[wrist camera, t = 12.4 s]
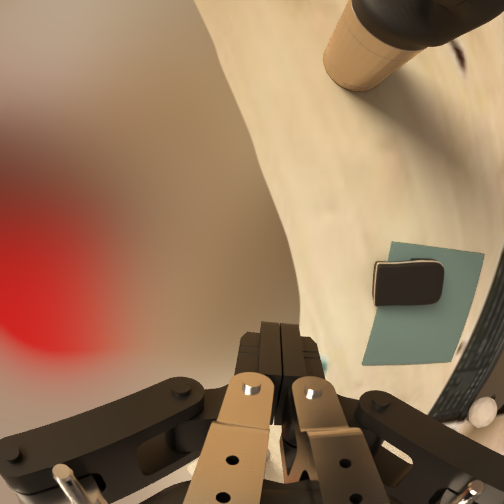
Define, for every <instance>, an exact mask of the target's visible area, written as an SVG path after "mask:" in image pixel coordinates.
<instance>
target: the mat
mask: <svg viewBox="0 0 504 504" xmlns="http://www.w3.org/2000/svg"><path fill="white" fill-rule="evenodd" d="M411 258H431V259H435V260H436V261H438V262H440V263H441V264H442V265H443V267H444V282H443V289H442V294H441V298H440V299H439V301H438V302H436V303H434V304H429V305H416V306H397V305H395V306H378V308H377V312H376V316H375V320H374V324H373V327H372V331H371V335H370V338H369V342H368V345H367V349H366V352H365V355H364V359H363V362H362V365H405V364H426V363H442V362H451V359H452V357H453V355H454V352H455V350H456V347H457V344H458V342H459V339H460V336H461V334H462V331H463V328H464V325H465V322H466V319H467V316H468V313H469V310H470V307H471V304H472V301H473V297H474V294H475V290H476V287H477V283H478V279H479V275H480V272H481V267H482V263H483V259H484V254H481V253H474V252H467V251H460V250H453V249H446V248H439V247H431V246H424V245H416V244H408V243H401V242H393V241H392V242H391V248H390V253H389V258H388V262H397V261H410V259H411Z"/></svg>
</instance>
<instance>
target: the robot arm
mask: <svg viewBox="0 0 504 504" xmlns="http://www.w3.org/2000/svg"><path fill="white" fill-rule="evenodd" d="M503 11H504V0H349V1H348V3H347V5H346V7H345V9H344V12H343V14H342V16H341V18H340V20H339V22H338V24H337V26H336V28H335V30H334V32H333V35H332V37H331V39H330V41H329V43H328V45H327V47H326V49H325V52H324V57H323V61H324V66H325V69H326V71H327V73H328V74H329V76H330V77H331V78H332V79H333V80H334V81H335V82H336V83H337V84H339V85H340V86H342V87H344V88H346V89H349V90H352V91H366V90H369V89H372V88H373V87H375V86H376V85H378V84H379V83H380V82H381V81H383V80H384V79H385V78H387V77H388V76H389V75H391V74H392V73H393V72H395V71H396V70H397V69H399V68H400V67H401V66H403V65H404V64H405V63H407V62H408V61H409V60H411V59H412V58H413V57H415V56H416V55H417V54H418V53H420V52H421V51H423V50H424V49H425V48H427V47H436V46H441V45H444V44H446V43H448V42H450V41H451V40H453V39H455V38H457V37H459V36H461V35H463V34H465V33H467V32H469V31H471V30H473V29H475V28H478V27H480V26H482V25H483V24H485V23H487V22H489V21H491V20H492V19H494V18H495V17H497V16H498V15H500V14H501V13H502V12H503ZM318 352H319V351H318V347H317V344H316V343H315V342H314V341H313V340H312V339H311V338H310V337H302V336H300V331H299V325H298V324H286V323H280V327H279V323H273V322H263V321H262V322H261V328H260V333H254V332H247V333H245V334H244V335H243V336H242V337H241V340H240V346H239V352H238V357H237V363H236V368H235V374H234V377H232V378H231V380H230V382H229V384H227V385H226V386H223V387H221V388H216V389H205V390H204V388H203V386H202V385H201V384H200V383H199V382H197V381H196V380H194V379H191V378H187V377H173V378H169V379H167V380H165V381H162V382H160V383H158V384H155V385H153V386H150V387H148V388H146V389H143V390H141V391H139V392H136V393H134V394H131V395H129V396H126V397H124V398H121V399H119V400H116V401H113V402H111V403H108V404H105V405H103V406H100V407H97V408H95V409H92V410H89V411H87V412H84V413H81V414H78V415H75V416H73V417H70V418H67V419H64V420H61V421H58V422H55V423H52V424H49V425H45V426H42V427H39V428H36V429H32V430H29V431H26V432H22V433H19V434H15V435H12V436H8V437H5V438H2V439H1V440H0V475H1V476H2V477H3V479H4V480H5V481H6V483H7V485H8V486H9V487H10V488H11V490H12V491H13V492H14V493H15V494H16V495H17V497H18V500H19V502H20V504H110V503H113V502H115V501H117V500H119V499H122V498H124V497H126V496H128V495H130V494H132V493H134V492H136V491H138V490H140V489H142V488H144V487H146V486H148V485H150V484H152V483H154V482H156V481H158V480H159V479H161V478H163V477H165V476H167V475H169V474H170V473H172V472H174V471H176V470H177V469H179V468H181V467H183V466H184V465H186V464H188V463H190V462H191V461H193V460H195V459H196V458H198V457H199V456H200V457H199V460H198V463H197V466H196V469H195V471H194V474H193V477H192V480H190V481H186V482H181V483H178V484H175V485H172V486H170V487H168V488H166V489H164V490H162V491H160V492H158V493H157V494H155V495H153V496H152V497H150V498H148V499H147V500H145V501H143V502H141V503H139V504H504V456H503V455H501V454H499V453H497V452H495V451H493V450H491V449H489V448H487V447H485V446H483V445H481V444H479V443H477V442H475V441H473V440H472V439H470V438H468V437H466V436H464V435H462V434H460V433H458V432H457V431H455V430H453V429H451V428H449V427H447V426H445V425H444V424H442V423H440V422H438V421H436V420H435V419H433V418H431V417H429V416H427V415H426V414H424V413H422V412H420V411H419V410H417V409H415V408H413V407H412V406H410V405H408V404H406V403H405V402H403V401H401V400H400V399H398V398H396V397H394V396H393V395H391V394H389V393H387V392H384V391H378V390H374V391H368V392H366V393H364V394H363V395H362V396H361V397H360V399H359V400H356V399H351V398H347V397H343V396H340V395H338V394H336V391H335V389H334V387H333V385H332V384H331V383H330V382H328V381H327V380H325V376H324V372H323V368H322V363H321V359H320V355H319V353H318ZM273 419H274V425H282V433H281V437H280V451H281V459H282V467H283V476H284V484H283V483H278V482H274V481H270V480H266V479H263V477H264V470H265V463H266V456H267V448H268V441H269V432H270V429H269V425H272V424H273ZM384 440H385V441H387V442H388V443H390V444H391V445H393V446H395V447H396V448H398V449H399V450H401V451H402V452H404V453H406V454H407V455H409V456H410V457H411V459H412V461H413V464H409V463H407V462H406V461H404V460H402V459H401V458H399V457H398V456H396V455H395V454H393V453H391V452H390V451H388V450H387V449H385V448H384V447H382V446H381V445H382V443H383V441H384Z"/></svg>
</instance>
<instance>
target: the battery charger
mask: <svg viewBox="0 0 504 504" xmlns="http://www.w3.org/2000/svg"><path fill="white" fill-rule="evenodd" d="M443 282H444V267H443V265H442V264H441V263H440V262H438V261H436V260H435V259H431V258H411V259H410V261H397V262H386V261H377V262H375V265H374V273H373V289H372V295H373V301H374V305H375V306H395V305H397V306H416V305H429V304H434V303H436V302H438V301H439V299H440V298H441V294H442V289H443Z"/></svg>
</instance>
